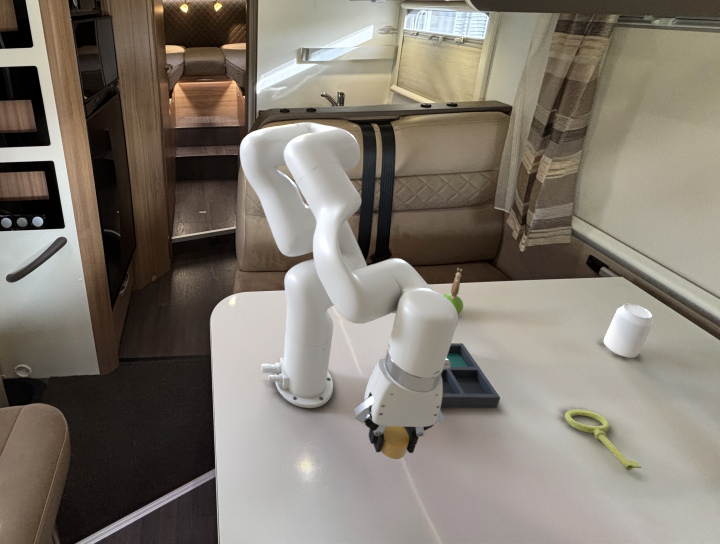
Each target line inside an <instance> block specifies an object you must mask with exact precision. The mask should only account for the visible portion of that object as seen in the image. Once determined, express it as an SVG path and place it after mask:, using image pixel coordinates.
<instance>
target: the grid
mask: <svg viewBox="0 0 720 544" xmlns="http://www.w3.org/2000/svg"><path fill="white" fill-rule="evenodd" d="M446 359H448V360H449V362H450V368H445V369H444V370H443V371H442V374H441V377H442V385H443V393H442V402H441V407H440V408H441V409H442V408H443V409H444V408H446V409H447V408H449V409H455V408H456V409H457V408H458V409H463V408H464V409H497V408H498V405H499V404H500V400H501V396H500V395H499V393H498V392H497V391H496V389H495V387H494V386H493V385H492V383H491V382H490V381H489V379H488V377H487V376H486V375H485V373H484V372H483V370H482V369H481V367H480V366H479V364H478V363H477V362H476V360H475V359H474V357H473V356H472V355H471V353H470V352H469V350H468V349H467V347H466V346H465V344H464V343H462V342H461V343H459V342H455V343H453V342H451V345H450V348H449V352H448V355H447V358H446Z"/></svg>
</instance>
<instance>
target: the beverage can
mask: <svg viewBox="0 0 720 544" xmlns="http://www.w3.org/2000/svg"><path fill="white" fill-rule="evenodd" d="M653 325H654V320H653V314H652V313H651V311H650V310H648V309H647V308H645V307H643V306H641V305H638V304H635V303H628V302H627V303H624V304H623V305H622V306H619V307H618V308H617V309H616V311H615V312H614V315H613V318H612V320H611V322H610V324H609V326H608V328H607V331H606V334H605V335H604V338H603V343H604V346H605V347H606V348H607V349H608V350H610V351H611V352H612V353H613V354H616V355H618V356H619V357H622V358H623V357H624V358H631V359H632V358H636V357H638V356H639V354H640V352H641V350H642V348H643V346H644V344H645V342H646V340H647V339H648V336H649V334H650V332H651V330H652V328H653Z"/></svg>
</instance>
